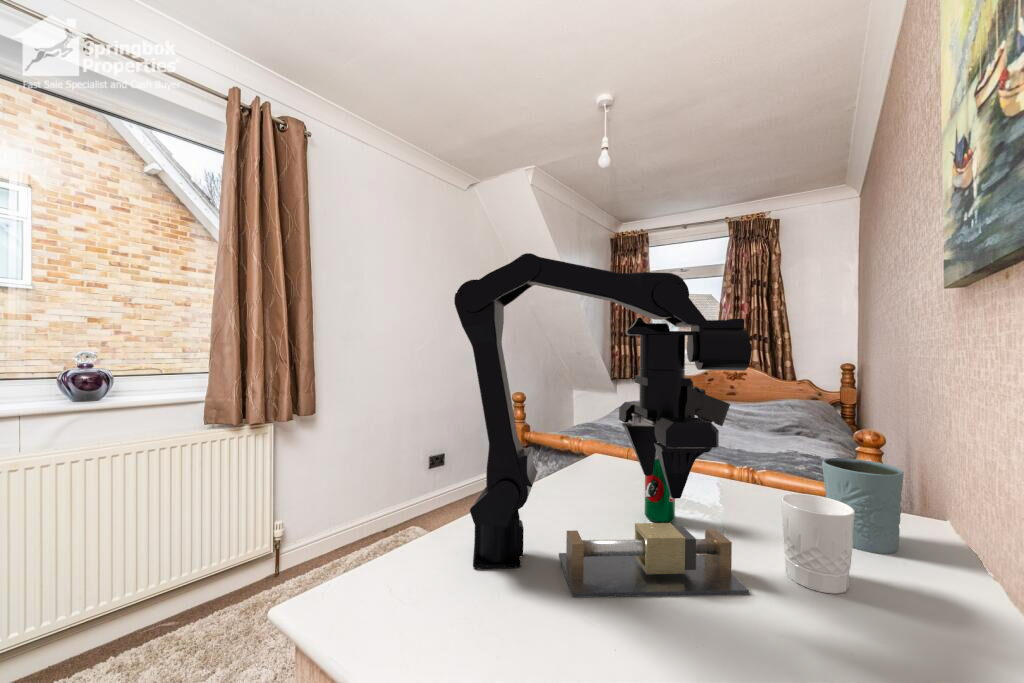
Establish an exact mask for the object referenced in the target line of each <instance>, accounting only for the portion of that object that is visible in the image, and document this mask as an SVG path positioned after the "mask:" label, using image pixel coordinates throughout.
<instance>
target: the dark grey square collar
mask: <svg viewBox="0 0 1024 683" xmlns="http://www.w3.org/2000/svg"><path fill="white" fill-rule="evenodd" d="M673 526H674V527H675V528H676V529H677V530H678V531H679V532H680V533H681V534H682V535H683V536H684V537H685V570H696V539H697V538H696V537H695V536H694V535H693V534H692V533H690V531H689V530H687V528H685V526H683V525H673Z"/></svg>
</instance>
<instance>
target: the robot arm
mask: <svg viewBox="0 0 1024 683" xmlns="http://www.w3.org/2000/svg"><path fill="white" fill-rule="evenodd" d="M534 286H538V287H543V288H548V289H551V290H557V291H562V292H565V293H570V294H575V295H580V296H585V297H589V298H594V299H600V300H603V301H608V302H611V303H615V304H617V305H619V306H622V307H623V308H625V309H628V310H629V311H631V312H634V313H637V314H639V315H642V316H643V317H647V318H649V319H652V320H657V321H658V320H659V321H661V320H662V321H663V320H665V321H666V322H668V323H669V324H671V325H672V326H674V327H675V328H690V330H688V331H686V330H685V331H684V330H683V331H682V330H679V331H678V330H670V327H669V324H668V323H665V322H664V323H661V322H660V323H659V322H657V323H653V322H647V323H646V322H645V321H644V319H643V318H642V317H637V318H636V319H635V320H634V323H633V324H632V325H631V326H630V327H629V328H628V329H626V330H625V332H624V333H625V335H626V336H639V343H640V344H639V375H638V374H637V375H634V383H635V384H638V385H639V401H624V402H623V403H622V404H621V405H620V406H619V407H618V420H619V421H621V422H622V427H623V429H624V431H625V433H626V436H627V438H628V440H629V442H630V445H631V446H632V448H633V451H634V453H635V456H636V459H637V461H638V463H639V466H640V468H641V470H642V472H643V475H644V476H645V475H646V476H652V474H653V469H654V463H655V456H656V451H657V454H658V458H659V461H660V464H661V467H662V471H663V474H664V477H665V480H666V484H667V487H668V490H669V493H670V496H671V497H672V498H674V499H675V500H676V499H681V498H682V495H683V493H684V489H685V486H686V484H687V481H688V478H689V476H690V473H691V470H692V468H693V465H694V464H695V461H696V460H697V459H698V458H699V457H700V456H702V455H703V454H707V453H710V452H711V451H712V449H714V448H715V449H716V448H718V447H719V445H720V444H719V443H720V442H719V437H720V436H719V435H720V434H719V433H720V432H719V429H718V428H717V427H716V426H715V425H717V426H720V427H723V426H724V423H725V420H726V417H727V414H728V412H729V410H730V407H731V403H729V402H727V401H724V400H721V399H718V398H716V397H714V396H710V395H708V394H706V393H707V392H706V390H705V389H703V388H700V387H697V386H696V385H694V382H693V380H692V378H691V377H690V378H689V377H685V376H686V370H685V368H686V367H685V366H686V363H685V362H686V356H687V359H688V362H689V363H694V364H695V368H696V369H697V370H698V371H741V372H743V371H746V370H748V368H749V366H750V364H751V360H752V349H753V348H752V347H753V346H752V343H750V337H749V333H748V330H747V329H746V328H745V319H744V318H729V319H706V316H704V314H702V312H701V311H700V309H698V307H697V306H696V305H695V304H694V302H693V301H692V300H691V298H690V291H689V287H688V285H687V283H686V282H685V280H684V278H682V276H680V275H677V274H675V273H672V272H655V271H653V272H651V271H649V272H648V271H641V272H640V271H639V272H617V271H610V270H606V269H602V268H597V267H591V266H587V265H581V264H577V263H576V264H575V263H572V262H567V261H566V262H565V261H561V260H556V259H551V258H546V257H541V256H538V255H537V254H534V253H532V252H531V253H530V252H529V253H528V252H527V253H523V254H521V255H519V256H518V257H517V258H515V259H514V260H512V261H511V262H509V263H507V264H505V265H503V266H501V267H499V268H496V269H495V270H492V271H490V272H488V273H486V274H485V275H484V276H482V277H481V278H479V279H469V280H467V281H465V282H464V283H463V284H461V285H460V286H459V288H458V289H457V291H456V292H455V293H454V308H455V309H456V313H457V315H458V318H459V321H460V324H461V327H462V329H463V331H464V332H465V334H466V337H467V339H468V341H469V342H470V345H471V347H472V351H473V357H474V362H475V369H476V375H477V382H478V387H479V392H480V398H481V399H480V400H481V404H482V410H483V414H484V415H483V417H484V423H485V427H486V428H485V429H486V433H487V441H488V454H487V464H486V475H485V476H486V480H485V481H486V486H485V487H484V488H483V490H482V491H481V493H480V494H479V496H478V497H477V499H476V500H475V501H474V503H473V504H472V505H471V507H470V508H469V513H470V516H471V519H472V521H473V524H474V540H473V541H474V544H473V556H472V557H473V558H472V568H474V569H487V568H488V569H494V568H495V569H497V568H499V569H500V568H503V569H504V568H520V567H521V564H522V563H521V557H523V556H524V531H525V530H524V524H523V523H524V522H523V521H522V519H520V514H519V512H520V511H519V510H520V509H521V508H523V507H524V505H525V504H526V503H527V501H528V498H529V496H530V493H531V490H532V489H533V485H534V482H535V481H536V477H537V475H538V472H539V471H538V469H537V468H536V467H535V466H536V465H535V463H534V446H528V447H524V445H523V444H522V443H521V441H520V438H519V435H518V431H517V426H516V420H515V412H514V408H513V402H512V396H511V389H510V385H509V379H508V372H507V366H506V361H505V356H504V350H503V342H502V341H503V332H504V321H505V319H504V317H505V316H504V314H505V312H504V310H505V309H504V307H506V306H508V305H509V304H511V303H513V302H514V301H515V300H516V299H518V298H519V297H520V296H521V295H523V294H524V293H525V292H526V291H528V290H529V289H530V288H532V287H534ZM686 336H687V338H686ZM686 339H687V342H686ZM695 416H696V417H695ZM713 423H714V424H715V425H714V424H713Z"/></svg>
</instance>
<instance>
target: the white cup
mask: <svg viewBox="0 0 1024 683" xmlns="http://www.w3.org/2000/svg"><path fill="white" fill-rule="evenodd" d="M781 516H782V518H781V519H782V520H781V522H782V539H783V552H784V554H785V555H784V561H785V564H784V565H785V572H786V574H787V576H788V577H789V578H790V579H791V581H793V582H795V583H796V584H798V585H800V586H802V587H804V588H807V589H810V590H813V591H816V592H820V593H825V594H826V593H827V594H832V595H833V594H834V595H835V594H836V595H837V594H838V595H839V594H841V593H842V594H843V593H846V592H847V590H848V589H849V585H850V572H851V571H850V570H851V566H852V556H853V549H854V548H853V532H854V517H855V511H854V509H853V508H852V507H850V506H848V505H846V504H844V503H842V502H839V501H836V500H833V499H829V498H826V496H821V495H814V494H807V493H806V494H805V493H788V494H784V495H782V496H781Z"/></svg>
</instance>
